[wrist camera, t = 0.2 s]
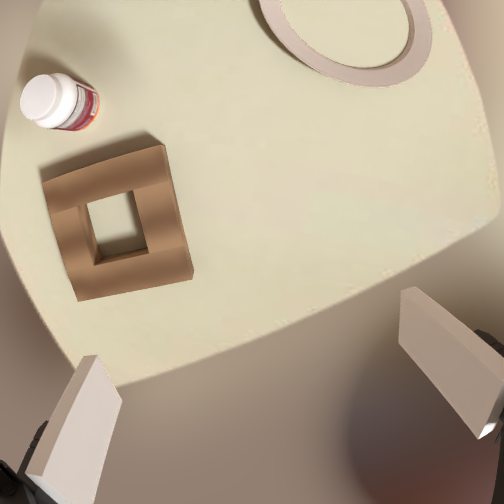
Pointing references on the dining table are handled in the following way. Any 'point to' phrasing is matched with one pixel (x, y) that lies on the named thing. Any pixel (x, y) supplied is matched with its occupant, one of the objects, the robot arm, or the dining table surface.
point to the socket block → (151, 216)
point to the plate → (363, 77)
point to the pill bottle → (59, 102)
